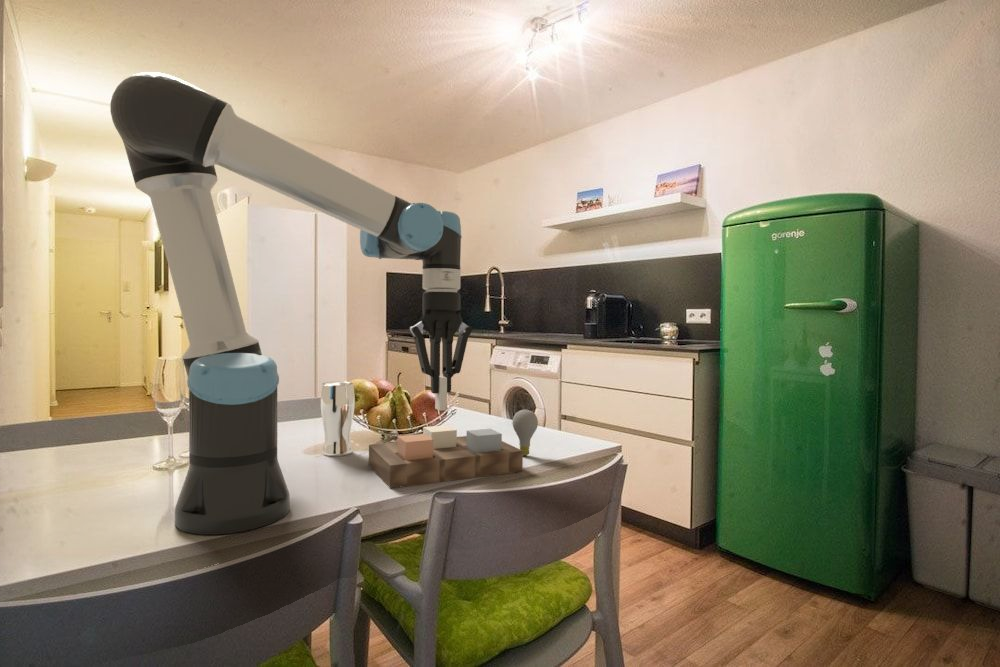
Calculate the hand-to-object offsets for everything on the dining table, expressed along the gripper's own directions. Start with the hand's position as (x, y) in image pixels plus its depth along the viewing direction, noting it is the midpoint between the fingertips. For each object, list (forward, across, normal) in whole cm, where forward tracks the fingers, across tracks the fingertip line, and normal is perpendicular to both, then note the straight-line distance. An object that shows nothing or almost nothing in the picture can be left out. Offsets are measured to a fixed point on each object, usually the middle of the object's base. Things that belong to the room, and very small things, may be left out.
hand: (440, 409), depth 109 cm
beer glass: (+11, -17, +17) cm, 27 cm away
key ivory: (+9, 0, 0) cm, 9 cm away
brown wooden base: (+11, 0, -3) cm, 12 cm away
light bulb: (+12, +19, -1) cm, 22 cm away
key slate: (+9, +7, -6) cm, 13 cm away
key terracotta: (+9, -7, -6) cm, 13 cm away
